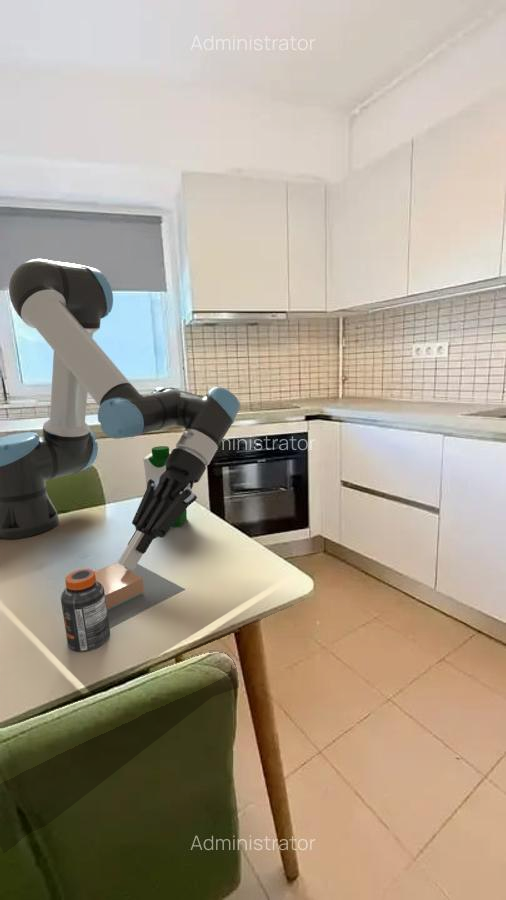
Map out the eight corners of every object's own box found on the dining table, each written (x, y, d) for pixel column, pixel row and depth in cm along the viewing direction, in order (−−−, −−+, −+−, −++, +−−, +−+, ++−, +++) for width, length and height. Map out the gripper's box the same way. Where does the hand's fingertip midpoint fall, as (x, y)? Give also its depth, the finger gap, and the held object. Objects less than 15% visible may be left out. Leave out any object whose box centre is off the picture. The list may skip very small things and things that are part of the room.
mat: (62, 597, 79) (61, 593, 79) (135, 566, 90) (135, 562, 89) (108, 633, 68) (107, 629, 68) (185, 593, 79) (185, 589, 79)
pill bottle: (68, 637, 68) (57, 569, 65) (108, 627, 70) (100, 561, 68) (68, 662, 62) (57, 588, 60) (112, 649, 65) (103, 578, 62)
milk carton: (146, 531, 107) (138, 450, 103) (158, 517, 116) (151, 442, 112) (182, 531, 106) (175, 449, 102) (191, 517, 115) (185, 441, 111)
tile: (117, 577, 84) (71, 597, 77) (115, 563, 83) (68, 582, 77) (144, 593, 78) (96, 617, 71) (142, 578, 77) (93, 600, 71)
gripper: (158, 443, 90) (91, 548, 81) (201, 450, 81) (130, 569, 72) (181, 463, 94) (120, 564, 86) (224, 471, 86) (160, 586, 77)
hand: (125, 566), depth 79 cm, fingers closed
